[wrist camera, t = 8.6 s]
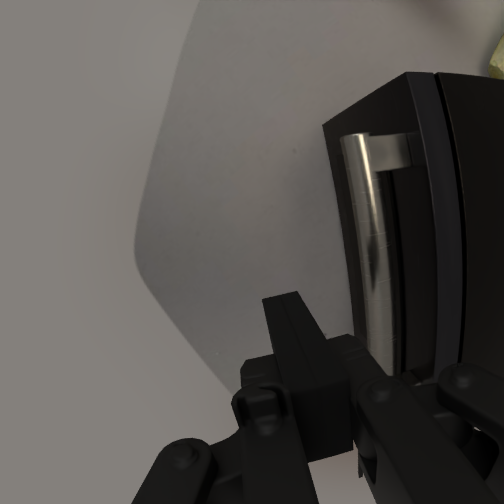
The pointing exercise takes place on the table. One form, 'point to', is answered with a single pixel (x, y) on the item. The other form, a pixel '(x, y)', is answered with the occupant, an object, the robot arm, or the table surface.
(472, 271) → the oven
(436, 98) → the oven door
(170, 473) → the robot arm
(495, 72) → the lettuce
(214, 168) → the table surface
